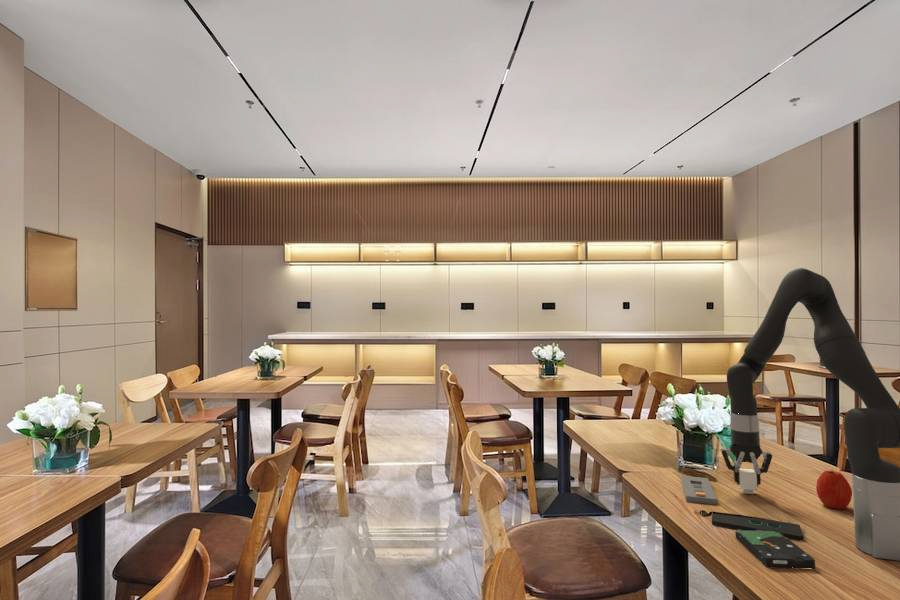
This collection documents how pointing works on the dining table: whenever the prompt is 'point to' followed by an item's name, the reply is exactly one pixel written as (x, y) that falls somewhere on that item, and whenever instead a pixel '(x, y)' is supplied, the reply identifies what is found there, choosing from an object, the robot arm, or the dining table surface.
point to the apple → (834, 490)
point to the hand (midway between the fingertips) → (747, 484)
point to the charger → (747, 480)
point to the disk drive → (774, 549)
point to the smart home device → (756, 524)
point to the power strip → (698, 490)
